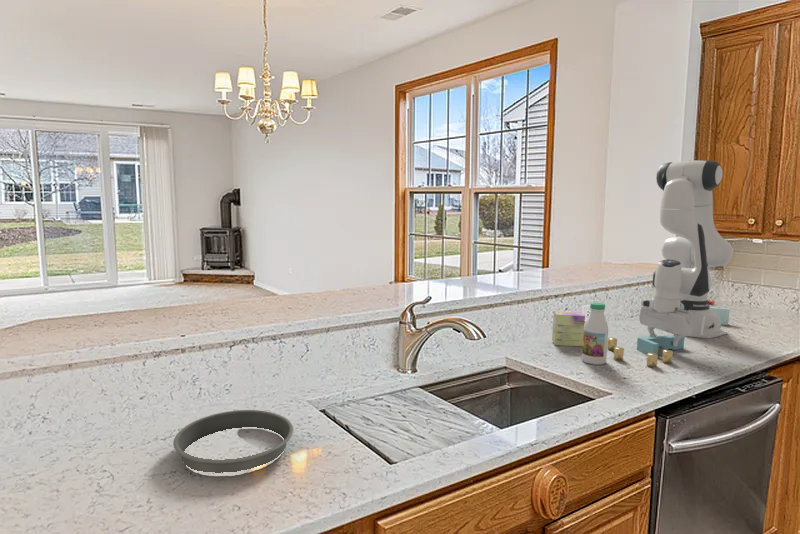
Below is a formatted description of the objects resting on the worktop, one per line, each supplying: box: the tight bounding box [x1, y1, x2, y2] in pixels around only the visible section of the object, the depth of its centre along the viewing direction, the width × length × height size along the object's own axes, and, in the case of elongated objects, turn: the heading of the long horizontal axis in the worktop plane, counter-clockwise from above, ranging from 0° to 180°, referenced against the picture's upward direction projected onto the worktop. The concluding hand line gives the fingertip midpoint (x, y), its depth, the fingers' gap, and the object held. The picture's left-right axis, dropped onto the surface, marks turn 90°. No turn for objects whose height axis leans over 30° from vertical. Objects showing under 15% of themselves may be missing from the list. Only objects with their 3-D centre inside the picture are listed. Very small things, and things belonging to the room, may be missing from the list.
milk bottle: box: [581, 301, 609, 366], centre depth 176 cm, size 8×8×20 cm
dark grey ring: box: [173, 409, 294, 473], centre depth 114 cm, size 25×25×4 cm
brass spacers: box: [607, 337, 674, 369], centre depth 183 cm, size 16×22×4 cm
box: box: [551, 311, 586, 348], centre depth 197 cm, size 10×6×12 cm, turn 84°
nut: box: [658, 346, 664, 356], centre depth 187 cm, size 4×4×2 cm
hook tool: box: [636, 334, 685, 356], centre depth 190 cm, size 18×8×4 cm, turn 104°
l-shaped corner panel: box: [710, 306, 731, 326], centre depth 237 cm, size 12×12×8 cm
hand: (663, 342), depth 193 cm, fingers open, 8 cm apart
